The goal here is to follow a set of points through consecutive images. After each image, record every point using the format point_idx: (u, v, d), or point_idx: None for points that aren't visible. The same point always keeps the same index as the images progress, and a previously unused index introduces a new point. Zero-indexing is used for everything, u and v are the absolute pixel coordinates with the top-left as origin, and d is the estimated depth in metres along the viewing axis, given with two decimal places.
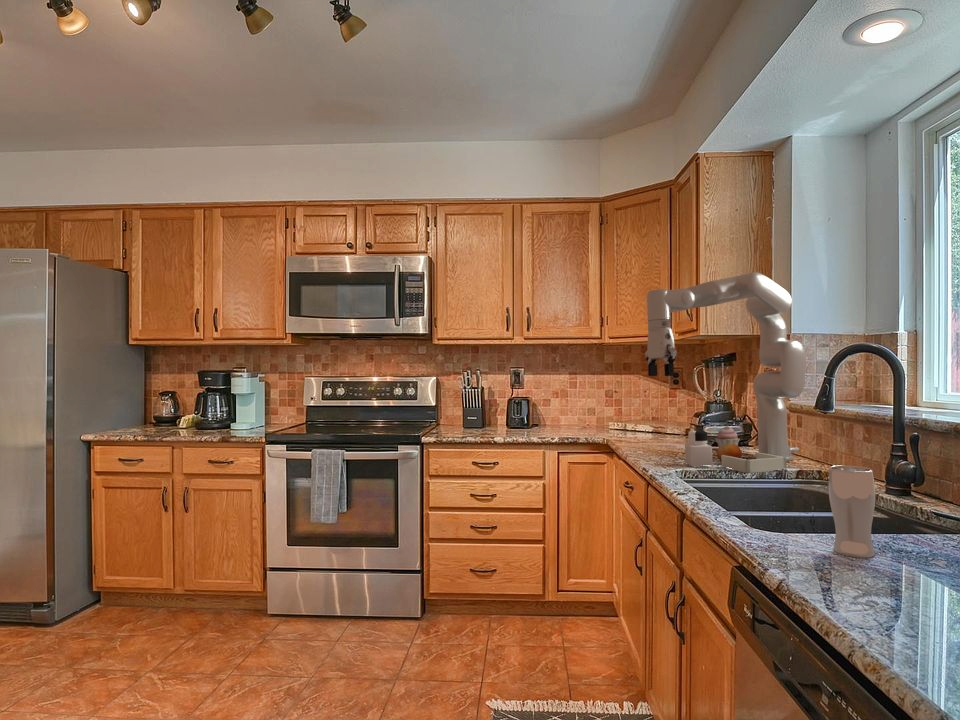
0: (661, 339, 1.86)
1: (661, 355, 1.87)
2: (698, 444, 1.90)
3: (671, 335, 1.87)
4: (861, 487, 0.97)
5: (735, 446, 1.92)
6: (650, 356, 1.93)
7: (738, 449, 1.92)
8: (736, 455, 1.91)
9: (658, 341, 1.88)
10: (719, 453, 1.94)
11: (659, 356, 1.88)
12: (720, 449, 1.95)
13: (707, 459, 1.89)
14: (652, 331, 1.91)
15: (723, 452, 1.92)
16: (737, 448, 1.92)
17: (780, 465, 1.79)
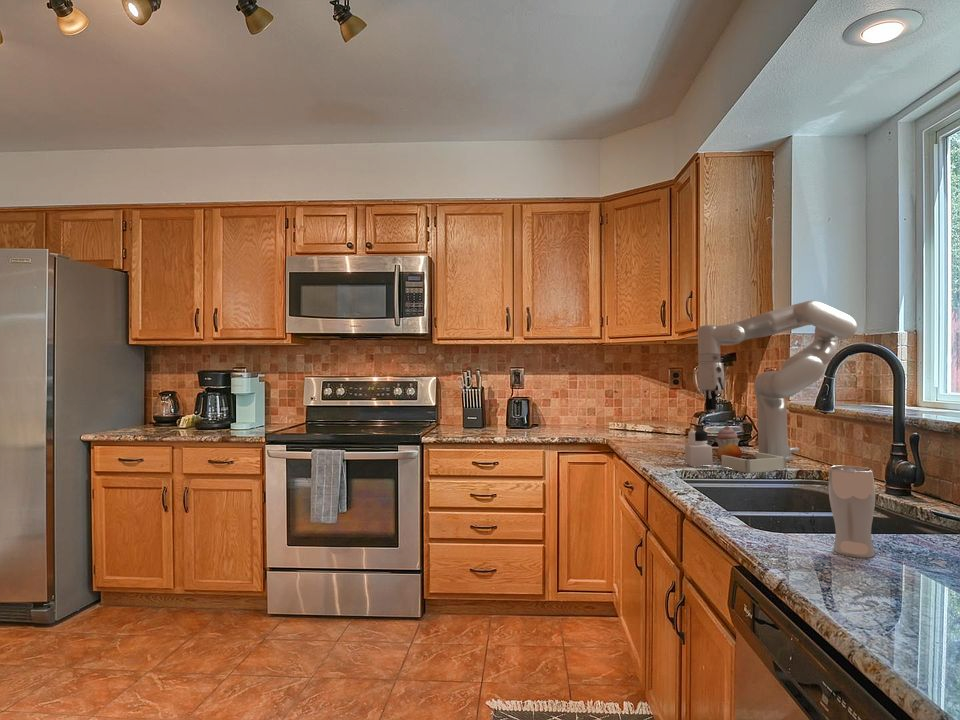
0: (712, 372, 1.99)
1: (712, 387, 2.00)
2: (698, 444, 1.90)
3: (721, 369, 2.00)
4: (861, 487, 0.97)
5: (735, 446, 1.92)
6: (700, 387, 2.06)
7: (738, 449, 1.92)
8: (736, 455, 1.91)
9: (709, 374, 2.01)
10: (719, 453, 1.94)
11: (710, 388, 2.01)
12: (720, 449, 1.95)
13: (707, 459, 1.89)
14: (703, 364, 2.04)
15: (723, 452, 1.92)
16: (737, 448, 1.92)
17: (780, 465, 1.79)
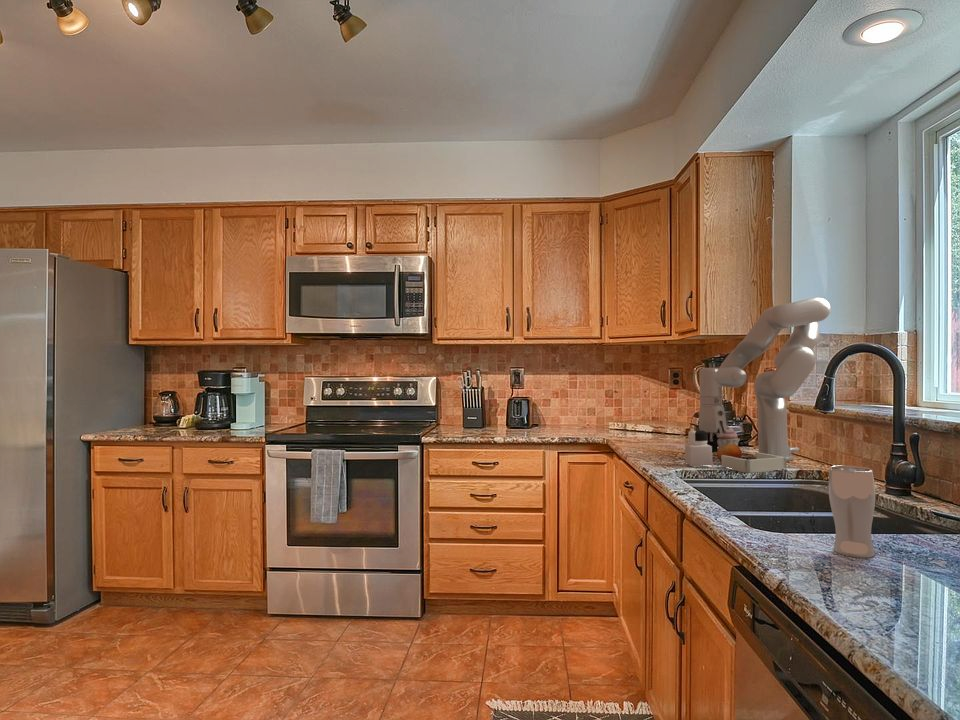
0: (714, 416, 1.99)
1: (713, 431, 1.99)
2: (698, 444, 1.90)
3: (723, 412, 1.99)
4: (861, 487, 0.97)
5: (735, 446, 1.92)
6: (702, 429, 2.05)
7: (738, 449, 1.92)
8: (736, 455, 1.91)
9: (711, 417, 2.00)
10: (719, 453, 1.94)
11: (711, 431, 2.00)
12: (720, 449, 1.95)
13: (707, 459, 1.89)
14: (704, 406, 2.03)
15: (723, 452, 1.92)
16: (737, 448, 1.92)
17: (780, 465, 1.79)
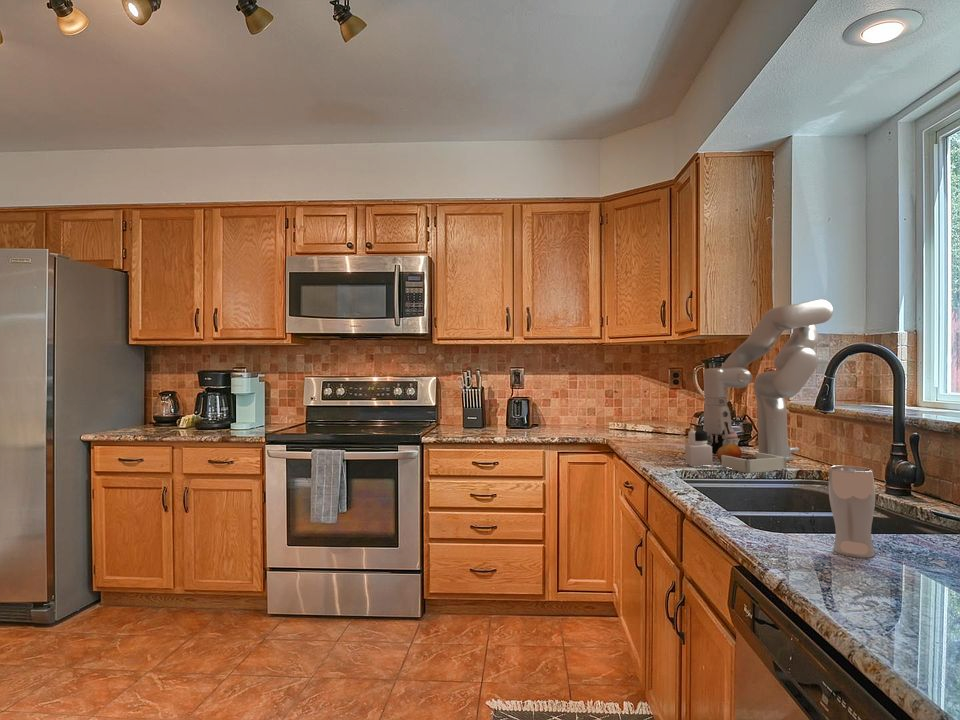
0: (719, 417, 1.97)
1: (719, 432, 1.97)
2: (698, 444, 1.90)
3: (728, 413, 1.97)
4: (861, 487, 0.97)
5: (735, 446, 1.92)
6: (707, 430, 2.03)
7: (738, 449, 1.92)
8: (736, 455, 1.91)
9: (715, 418, 1.98)
10: (719, 453, 1.94)
11: (716, 432, 1.98)
12: (720, 449, 1.95)
13: (707, 459, 1.89)
14: (709, 408, 2.01)
15: (723, 452, 1.92)
16: (737, 448, 1.92)
17: (780, 465, 1.79)
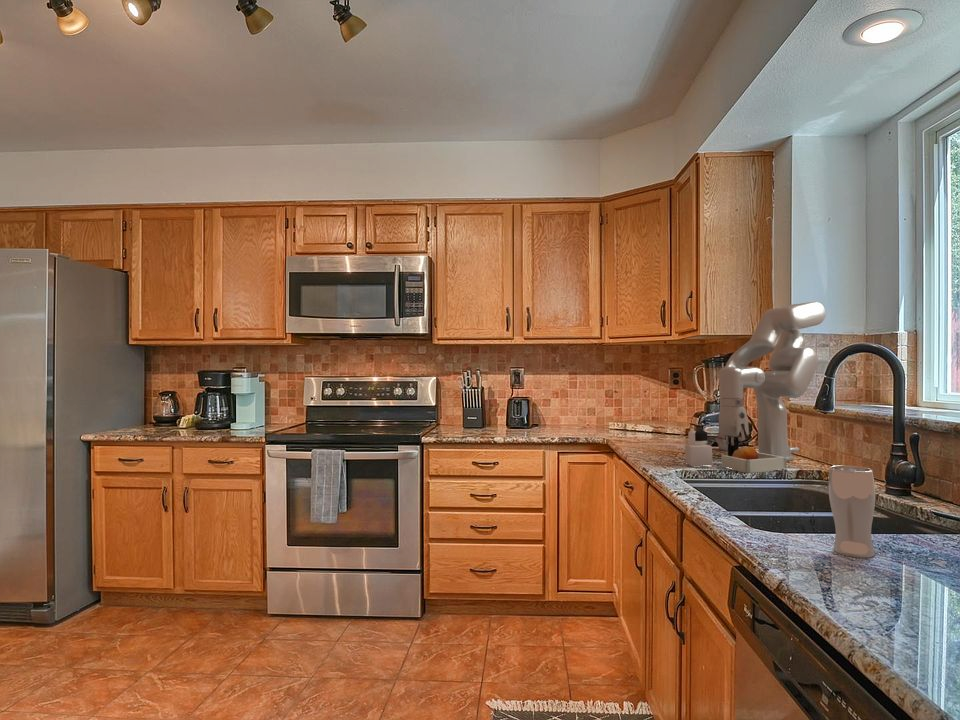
0: (735, 418, 1.88)
1: (735, 434, 1.89)
2: (698, 444, 1.90)
3: (745, 414, 1.89)
4: (861, 487, 0.97)
5: (751, 449, 1.84)
6: (722, 432, 1.95)
7: (754, 452, 1.84)
8: (752, 458, 1.83)
9: (732, 420, 1.90)
10: (734, 456, 1.86)
11: (732, 434, 1.90)
12: (735, 452, 1.86)
13: (707, 459, 1.89)
14: (725, 408, 1.93)
15: (738, 455, 1.84)
16: (753, 451, 1.84)
17: (780, 465, 1.79)
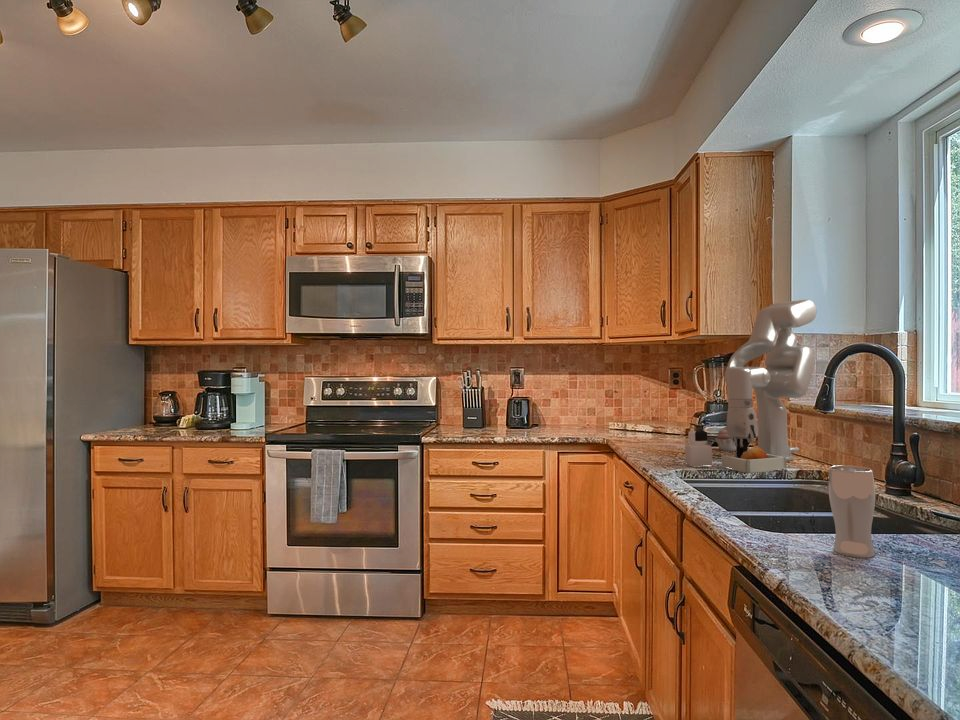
0: (744, 419, 1.84)
1: (744, 435, 1.85)
2: (698, 444, 1.90)
3: (754, 415, 1.85)
4: (861, 487, 0.97)
5: (760, 451, 1.80)
6: (730, 434, 1.91)
7: (763, 454, 1.80)
8: None
9: (741, 421, 1.86)
10: (743, 458, 1.82)
11: (742, 436, 1.86)
12: (744, 454, 1.83)
13: (707, 459, 1.89)
14: (733, 410, 1.89)
15: (746, 457, 1.81)
16: (762, 453, 1.80)
17: (780, 465, 1.79)
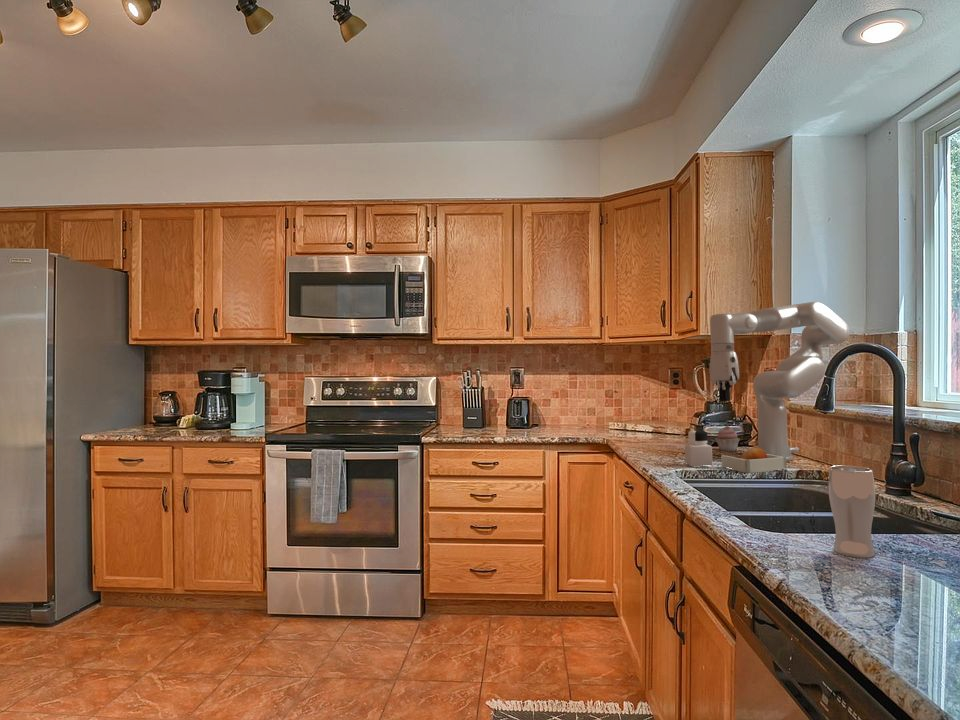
0: (726, 362, 1.93)
1: (726, 378, 1.93)
2: (698, 444, 1.90)
3: (735, 358, 1.93)
4: (861, 487, 0.97)
5: (760, 451, 1.80)
6: (713, 378, 1.99)
7: (763, 454, 1.80)
8: None
9: (723, 364, 1.94)
10: (743, 458, 1.82)
11: (724, 379, 1.94)
12: (744, 454, 1.83)
13: (707, 459, 1.89)
14: (716, 354, 1.97)
15: (746, 457, 1.81)
16: (762, 453, 1.80)
17: (780, 465, 1.79)
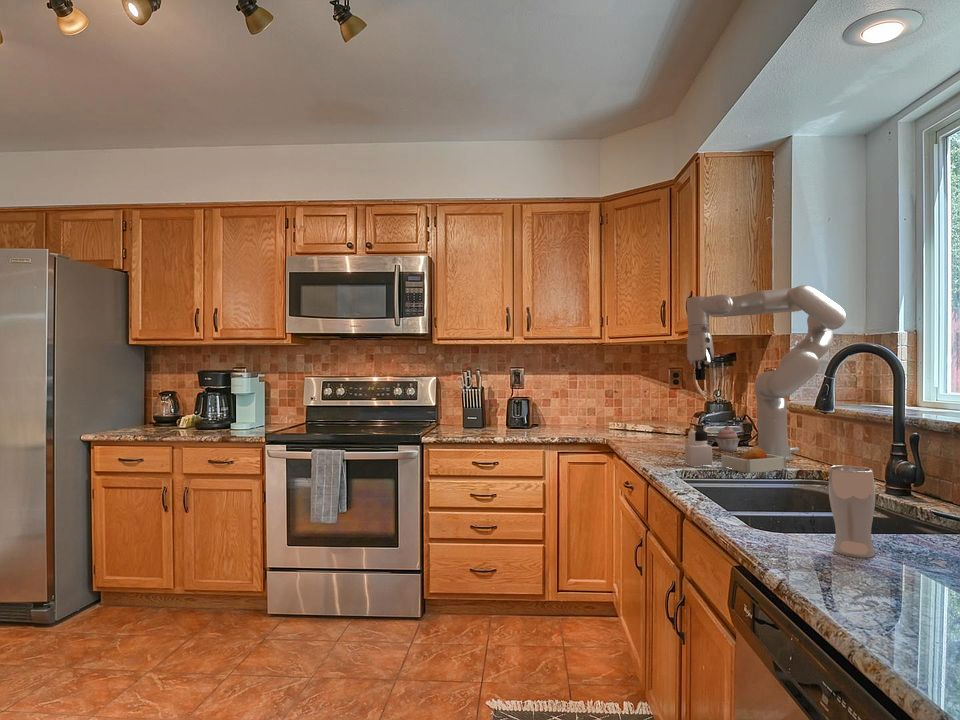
0: (701, 342, 2.02)
1: (701, 357, 2.02)
2: (698, 444, 1.90)
3: (710, 339, 2.02)
4: (861, 487, 0.97)
5: (760, 451, 1.80)
6: (690, 358, 2.08)
7: (763, 454, 1.80)
8: None
9: (698, 344, 2.03)
10: (743, 458, 1.82)
11: (699, 358, 2.03)
12: (744, 454, 1.83)
13: (707, 459, 1.89)
14: (692, 335, 2.06)
15: (746, 457, 1.81)
16: (762, 453, 1.80)
17: (780, 465, 1.79)
